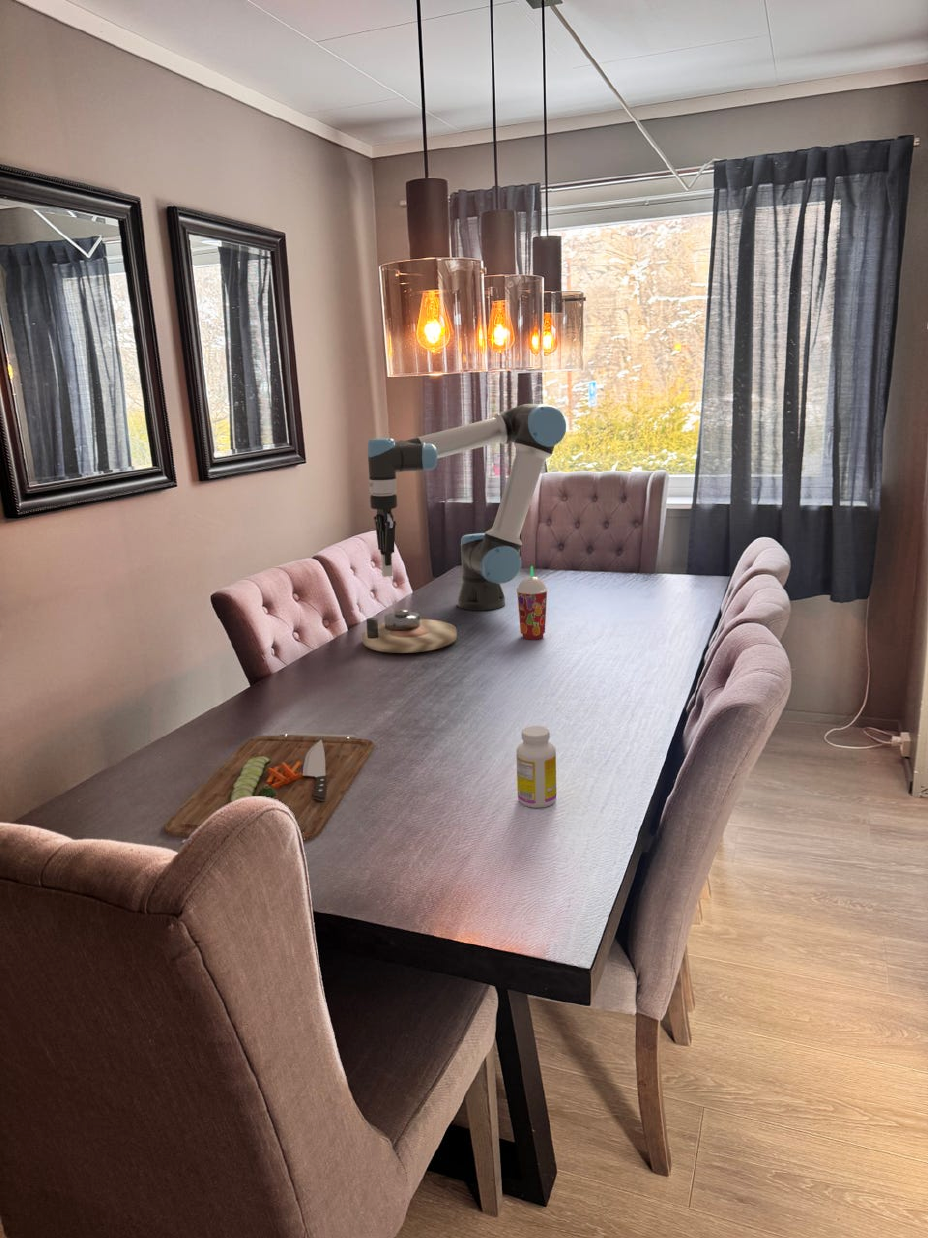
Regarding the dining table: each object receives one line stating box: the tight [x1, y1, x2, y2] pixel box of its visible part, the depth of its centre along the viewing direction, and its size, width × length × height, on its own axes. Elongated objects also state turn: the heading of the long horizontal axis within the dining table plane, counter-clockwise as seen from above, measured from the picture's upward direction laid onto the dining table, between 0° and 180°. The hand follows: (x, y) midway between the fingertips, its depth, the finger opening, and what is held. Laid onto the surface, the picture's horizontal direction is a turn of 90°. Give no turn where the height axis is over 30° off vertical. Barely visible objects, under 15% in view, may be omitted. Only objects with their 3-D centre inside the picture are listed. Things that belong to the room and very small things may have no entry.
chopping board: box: [163, 732, 375, 845], centre depth 163 cm, size 45×27×3 cm, turn 171°
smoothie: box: [516, 565, 548, 641], centre depth 245 cm, size 8×8×20 cm
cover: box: [383, 608, 421, 631], centre depth 251 cm, size 10×10×4 cm
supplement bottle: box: [515, 725, 557, 809], centre depth 151 cm, size 7×7×13 cm
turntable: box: [361, 617, 458, 654], centre depth 245 cm, size 26×26×7 cm
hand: (387, 575), depth 257 cm, fingers closed
